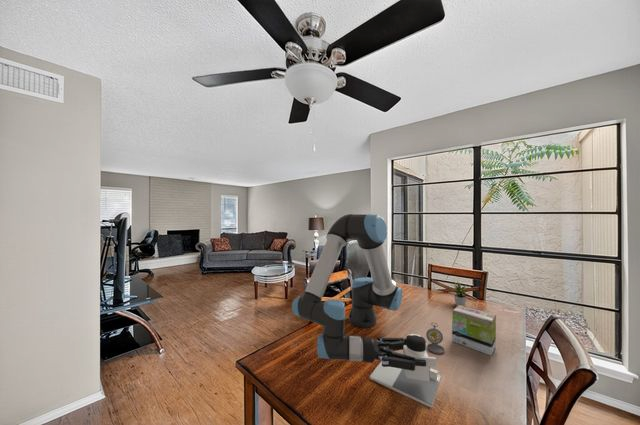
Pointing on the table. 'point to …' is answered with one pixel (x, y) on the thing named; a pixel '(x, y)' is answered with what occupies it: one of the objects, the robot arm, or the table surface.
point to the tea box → (474, 329)
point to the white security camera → (416, 348)
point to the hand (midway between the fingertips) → (431, 354)
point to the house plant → (459, 294)
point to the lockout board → (408, 383)
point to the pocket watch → (435, 340)
